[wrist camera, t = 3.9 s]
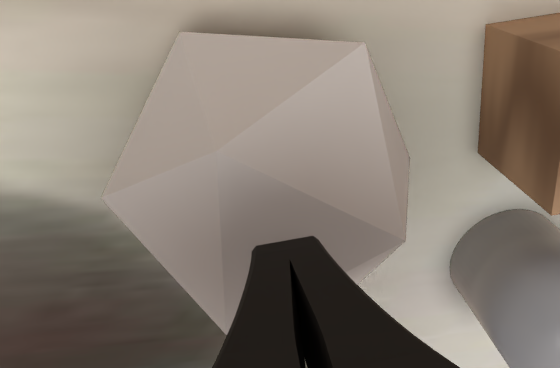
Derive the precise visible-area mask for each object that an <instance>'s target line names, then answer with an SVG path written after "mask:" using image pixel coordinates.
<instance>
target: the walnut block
mask: <svg viewBox="0 0 560 368" xmlns="http://www.w3.org/2000/svg"><path fill="white" fill-rule="evenodd" d="M478 153H479V154H480V155H481V156H482V157H483V158H485V159H486V160H487V161H488V162H489V163H490V164H492V165H493V166H494V167H495V168H496V169H497V170H499V171H500V172H501V173H502V174H503V175H504V176H506V177H507V178H508V179H509V180H510V181H511V182H513V183H514V184H515V185H516V186H517V187H518V188H520V189H521V190H522V191H523V192H524V193H525V194H527V195H528V196H529V197H530V198H531V199H533V200H534V201H535V202H536V203H537V204H538V205H540V206H541V207H542V208H543V209H544V210H545V211H547V212H548V213H549V214H550V215H551V216H552V215H558V214H560V13H555V14H549V15H543V16H536V17H530V18H524V19H517V20H511V21H505V22H498V23H492V24H486V30H485V46H484V61H483V77H482V93H481V109H480V124H479V140H478Z"/></svg>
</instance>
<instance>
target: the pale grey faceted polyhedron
mask: <svg viewBox="0 0 560 368" xmlns="http://www.w3.org/2000/svg"><path fill="white" fill-rule="evenodd" d="M409 163H410V157H409V154H408V152H407V149H406V147H405V144H404V141H403V139H402V136H401V134H400V131H399V129H398V126H397V123H396V121H395V118H394V116H393V113H392V111H391V108H390V105H389V103H388V100H387V98H386V95H385V93H384V90H383V87H382V85H381V82H380V80H379V77H378V75H377V72H376V69H375V67H374V64H373V62H372V59H371V57H370V54H369V51H368V49H367V46H366V44H365V42H349V41H332V40H315V39H298V38H280V37H263V36H246V35H229V34H212V33H195V32H179V34H178V36H177V38H176V40H175V42H174V44H173V46H172V48H171V50H170V53H169V55H168V57H167V59H166V61H165V63H164V65H163V67H162V69H161V72H160V74H159V76H158V78H157V80H156V82H155V84H154V86H153V88H152V91H151V93H150V95H149V97H148V99H147V101H146V103H145V105H144V107H143V110H142V112H141V114H140V116H139V118H138V120H137V122H136V124H135V126H134V129H133V131H132V133H131V135H130V137H129V139H128V141H127V143H126V145H125V148H124V150H123V152H122V154H121V156H120V158H119V160H118V162H117V164H116V167H115V169H114V171H113V173H112V175H111V177H110V179H109V181H108V183H107V186H106V188H105V190H104V192H103V194H102V196H101V199H102V200H103V201H104V203H105V204H106V205H107V206H108V207H109V208H110V209H111V210H112V211H113V212H114V213H115V214H116V216H117V217H118V218H119V219H120V220H121V221H122V222H123V223H124V224H125V225H126V226H127V227H128V229H129V230H130V231H131V232H132V233H133V234H134V235H135V236H136V237H137V238H138V239H139V241H140V242H141V243H142V244H143V245H144V246H145V247H146V248H147V249H148V250H149V251H150V252H151V254H152V255H153V256H154V257H155V258H156V259H157V260H158V261H159V262H160V263H161V264H162V266H163V267H164V268H165V269H166V270H167V271H168V272H169V273H170V274H171V275H172V276H173V277H174V279H175V280H176V281H177V282H178V283H179V284H180V285H181V286H182V287H183V288H184V289H185V291H186V292H187V293H188V294H189V295H190V296H191V297H192V298H193V299H194V300H195V301H196V302H197V304H198V305H199V306H200V307H201V308H202V309H203V310H204V311H205V312H206V313H207V314H208V316H209V317H210V318H211V319H212V320H213V321H214V322H215V323H216V324H217V325H218V326H219V327H220V329H221V330H222V331H223V332H224V333H225V334H226V335H227V334H228V332H229V329H230V327H231V324H232V322H233V320H234V317H235V314H236V312H237V309H238V306H239V303H240V300H241V297H242V294H243V291H244V288H245V284H246V280H247V277H248V273H249V268H250V263H251V254H252V250H253V249H254V248H255V247H256V246H257V245H263V244H269V243H274V242H280V241H286V240H291V239H297V238H302V237H308V236H314V237H316V238H317V239H319V241H320V242H321V244H322V245H323V246H324V248H325V249H326V250H327V252H328V253H329V254H330V255H331V257H332V258H333V259H334V260H335V261H336V263H337V264H338V265H339V266H340V267H341V268H342V269H343V270H344V272H345V273H346V274H347V275H348V276H349V277H350V278H351V279H352V280H353V281H354V282H355V283H356V284H358V283H360V282H361V281H362V280H363V279H364V278H365V277H366V276H367V275H368V274H370V273H371V272H372V271H373V270H374V269H375V268H376V267H377V266H378V265H380V264H381V263H382V262H383V261H384V260H385V259H386V258H387V257H388V256H389V255H391V254H392V253H393V252H394V251H395V250H396V249H397V248H398V247H399V246H401V245H402V244H403V243H404V242H405V241H406V222H407V203H408V183H409Z"/></svg>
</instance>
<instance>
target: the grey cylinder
mask: <svg viewBox="0 0 560 368" xmlns="http://www.w3.org/2000/svg"><path fill="white" fill-rule="evenodd" d="M450 275H451V279H452V281H453V283H454V285H455V286H456V288H457V289H458V291H459V292H460V294H461V295H462V297H463V298H464V300H465V301H466V303H467V304H468V306H469V307H470V309H471V310H472V312H473V313H474V315H475V316H476V318H477V319H478V321H479V322H480V324H481V325H482V327H483V328H484V330H485V331H486V333H487V334H488V336H489V337H490V339H491V340H492V342H493V343H494V345H495V346H496V348H497V349H498V351H499V352H500V354H501V355H502V357H503V358H504V360H505V361H506V363H507V364H508V366H509V367H510V368H560V230H559V229H558V228H557V227H556V226H555V225H554V224H553V223H551V222H550V221H549V220H548V219H547V218H546V217H544V216H543V215H541V214H539V213H537V212H534V211H530V210H524V209H514V210H507V211H502V212H499V213H496V214H493V215H491V216H489V217H487V218H485V219H483V220H481V221H480V222H478V223H477V224H476V225H474V226H473V227H472V228H471V229H470V230H468V231H467V232H466V233H465V235H464V236H463V237H462V238H461V239H460V241H459V242H458V244H457V245H456V247H455V249H454V251H453V254H452V257H451V261H450Z"/></svg>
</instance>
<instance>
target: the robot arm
mask: <svg viewBox="0 0 560 368" xmlns="http://www.w3.org/2000/svg"><path fill="white" fill-rule="evenodd" d="M304 357H305V358H304ZM305 361H306V364H307V367H308V368H460V367H458V366H457V365H455V364H454V363H452V362H451V361H449V360H448V359H446V358H445V357H443V356H442V355H441V354H439V353H438V352H436V351H435V350H433V349H432V348H431V347H429V346H428V345H427V344H425V343H424V342H422V341H421V340H420V339H418V338H417V337H416V336H414V335H413V334H412V333H411V332H409V331H408V330H407V329H406V328H404V327H403V326H402V325H401V324H399V323H398V322H397V321H396V320H395V319H393V318H392V317H391V316H390V315H389V314H388V313H387V312H385V311H384V310H383V309H382V308H381V307H380V306H379V305H378V304H376V303H375V302H374V301H373V300H372V299H371V298H370V297H369V296H368V295H367V294H366V293H365V292H364V291H363V290H362V289H361V288H360V287H359V286H358V285H357V284H356V283H355V282H354V281H353V280H352V279H351V278H350V277H349V276H348V275H347V274H346V273H345V272H344V270H343V269H342V268H341V267H340V266H339V265H338V264H337V263H336V261H335V260H334V259H333V258H332V257H331V255H330V254H329V253H328V252H327V250H326V249H325V248H324V246H323V245H322V244H321V242H320V241H319V239H317V238H316V237H314V236H308V237H302V238H297V239H291V240H286V241H280V242H274V243H269V244H263V245H257V246H256V247H255V248H254V249H253V250H252V254H251V263H250V268H249V273H248V277H247V280H246V284H245V288H244V291H243V294H242V297H241V300H240V303H239V306H238V309H237V312H236V314H235V317H234V320H233V322H232V324H231V327H230V329H229V332H228V334H227V336H226V339H225V341H224V343H223V346H222V348H221V350H220V353H219V355H218V357H217V359H216V361H215V363H214V365H213V367H212V368H305Z"/></svg>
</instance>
